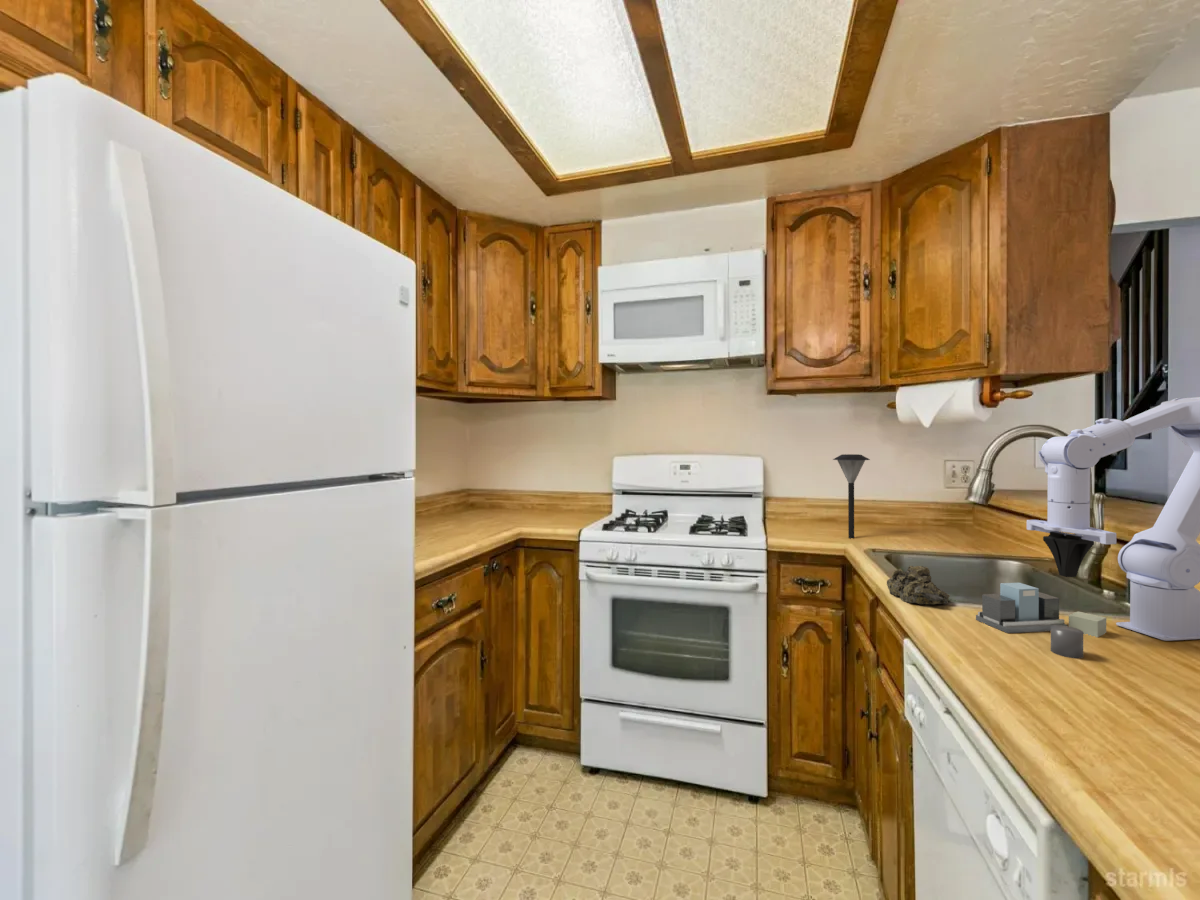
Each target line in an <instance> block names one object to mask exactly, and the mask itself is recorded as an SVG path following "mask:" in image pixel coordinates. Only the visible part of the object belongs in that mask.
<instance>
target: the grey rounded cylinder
mask: <svg viewBox="0 0 1200 900" xmlns="http://www.w3.org/2000/svg"><path fill="white" fill-rule="evenodd" d="M1050 652H1052V653H1053V654H1055V655H1057V656H1060V657H1064V658H1069V659H1083V658H1084V634H1083V631H1081V630H1079V629H1076V628H1073V627H1069V625H1067V626H1062V625H1053V626H1051V631H1050Z"/></svg>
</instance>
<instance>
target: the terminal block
mask: <svg viewBox="0 0 1200 900" xmlns="http://www.w3.org/2000/svg"><path fill="white" fill-rule="evenodd" d="M1068 626H1069V627H1073V628H1076V629H1079V630H1081V631H1083V635H1086V634H1088V635H1087V636H1090V635H1091V636H1090V637H1094V636H1095V638H1099V637H1102V636H1103V635H1105V633H1106V634H1107V617H1106V616H1101V615H1096V614H1091V613H1086V612H1082V611H1075V612H1073V613H1071V614H1068Z"/></svg>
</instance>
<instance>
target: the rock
mask: <svg viewBox="0 0 1200 900" xmlns="http://www.w3.org/2000/svg"><path fill="white" fill-rule="evenodd" d="M890 575H891V578H889V579H887V580H886V585H887V589H888V590H889V594H891V595H893V596H895V597H899V599H900V600H901V602H904V603H908V604H918V605H920V606H922V605H932V606H933V605H939V604H941V605H942V604H948V602H949V599H950V596H951V594H948V593H947V592H945V591H943V590H941V589H940V588H939V587H937V585H935V583H934V582H933V581H932V576H931V571H930V569H929V567H927V566H923V565H916V566H913V565H909V566H908V567H907V570H906V571H903V570H902V568H898V569H896V570H894V571H892V573H891V574H890Z"/></svg>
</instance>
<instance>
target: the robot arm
mask: <svg viewBox="0 0 1200 900" xmlns="http://www.w3.org/2000/svg"><path fill="white" fill-rule="evenodd" d="M1166 428H1168V429H1170V430H1171V432H1173V434H1174V435H1175V436H1176V437H1177V438H1178V439H1179V440H1180V442H1182V443H1183V444H1184V446H1187V447H1189V448H1191V450H1192V454H1191V456H1190V458H1189V460H1188V462H1187V464H1186V465H1185V467H1184V469H1183V471H1182V473H1181V475H1180V477H1179V479H1178V481H1177V482H1176V484H1175V486H1174V487H1173V490H1172V492H1171V493H1170V495H1169V497H1168V498H1167V500H1166V502H1165V504H1164V506H1163V508H1162V510H1161V512H1160V513H1159V516H1158V517H1157V519H1156V521H1155V522H1154V523H1153V526H1152V527H1150V528H1147V529H1144V530H1142V531H1139V532H1137V533H1135V534H1133V536H1132V538H1131V540H1130V541H1129V542H1127V543H1126V544H1125V545H1123V546H1122V547H1121V549H1119V552H1118V554H1117V562H1118V566H1119V568H1120V569H1121V571H1123V572H1124V573H1125V574H1126V579H1129V581H1130V582H1129V587H1130V590H1129V591H1130V592H1129V593H1130V594H1129V598H1130V599H1129V603H1130V604H1129V621H1120V622H1119V621H1118V622H1115V624H1116V626H1118V627H1122V628H1124V629H1128V630H1130V631H1131V630H1132V631H1134V632H1137V633H1140V634H1143V635H1146V636H1149V637H1152V638H1155V639H1158V640H1161V641H1165V642H1166V641H1171V642H1172V641H1184V640H1185V641H1188V640H1200V590H1198V589H1197V588H1196V587H1195V586H1197V585H1198V584H1199V583H1200V543H1199V542H1198V541H1197V538H1198V537H1199V535H1200V396H1194V397H1177V398H1173V399H1171V400H1166V401H1162V402H1161V403H1160V404H1159V405H1157V406H1154V407H1152V408H1150V409H1148V410H1147V409H1146V410H1145V411H1143V412H1141V413H1138V414H1136V415H1134V416H1131V417H1129V418H1128V419H1124V420H1121V419H1117V418H1107V417H1106V418H1105V417H1104V418H1099V419H1096V420H1095V424H1093V425H1090V426H1088V427H1085V428H1082V429H1081V428H1076V429H1073V430H1071V431H1070V433H1069V434H1068V435H1067V436H1066V435H1065V436H1062V435H1061V436H1053V437H1050V438H1049V439H1047V440H1046V441H1045V442H1044V444H1043V445H1042V447H1041V449H1040V450H1038V457H1039V459H1040V461H1041V462H1042V463H1043V465H1044V473H1046V475H1047V495H1046V497H1047V517H1046V518H1047V520H1042V519H1040V520H1039V519H1026V530H1027V531H1037V532H1040V533H1041V532H1042V533H1047V534H1048V535H1044V536H1042V541H1043V542H1044V543H1045V544H1046V545H1047V548H1048V549H1049V550H1050V553H1051V554H1052V556H1053V559H1054V562H1055V565H1056V568H1057V572H1058V574H1059V576H1061V577H1065V578H1075V577H1077V576H1078V572H1079V569H1080V566H1081V564H1082V561H1083V560H1084V559H1085V556H1086V555H1087V553H1088V552H1089V551H1090V549H1092V547H1093V546H1094V545H1095V542H1096V543H1100V544H1102V545H1117V532H1112V531H1108V530H1103V529H1101V528H1097V527H1092V526H1090V525H1091V523H1090V521H1091V468H1093V467H1095V465H1097V463H1098V462H1099V461H1100V460H1101V458H1104V457H1107V456H1109V455H1112V454H1114V453H1117V452H1120V451H1122V450H1125V449H1128V448H1130V447H1131V446H1132V445H1134V442H1135V439H1136V438H1138V437H1141V436H1144V435H1148V434H1151V433H1153V432H1154V433H1155V432H1156V431H1160V430H1163V429H1166Z"/></svg>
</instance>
